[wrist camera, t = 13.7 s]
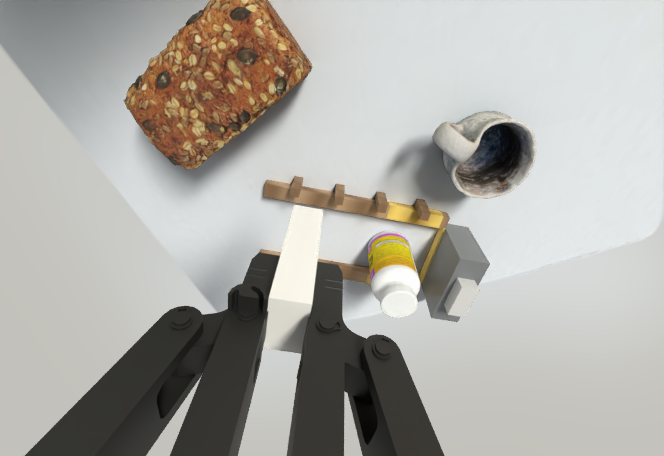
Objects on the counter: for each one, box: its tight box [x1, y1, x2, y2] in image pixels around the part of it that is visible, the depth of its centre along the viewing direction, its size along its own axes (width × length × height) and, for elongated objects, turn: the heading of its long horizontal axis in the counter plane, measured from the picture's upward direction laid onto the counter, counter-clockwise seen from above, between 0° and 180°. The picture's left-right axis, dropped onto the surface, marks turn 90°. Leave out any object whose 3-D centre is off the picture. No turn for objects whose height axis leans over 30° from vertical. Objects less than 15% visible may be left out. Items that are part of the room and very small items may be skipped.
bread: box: [123, 0, 313, 170], centre depth 36 cm, size 19×11×10 cm, turn 125°
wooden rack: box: [260, 176, 450, 285], centre depth 50 cm, size 27×16×4 cm, turn 79°
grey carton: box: [419, 224, 490, 322], centre depth 48 cm, size 4×11×11 cm, turn 169°
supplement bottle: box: [368, 231, 420, 318], centre depth 47 cm, size 7×7×13 cm
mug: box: [433, 111, 536, 199], centre depth 39 cm, size 10×12×10 cm
